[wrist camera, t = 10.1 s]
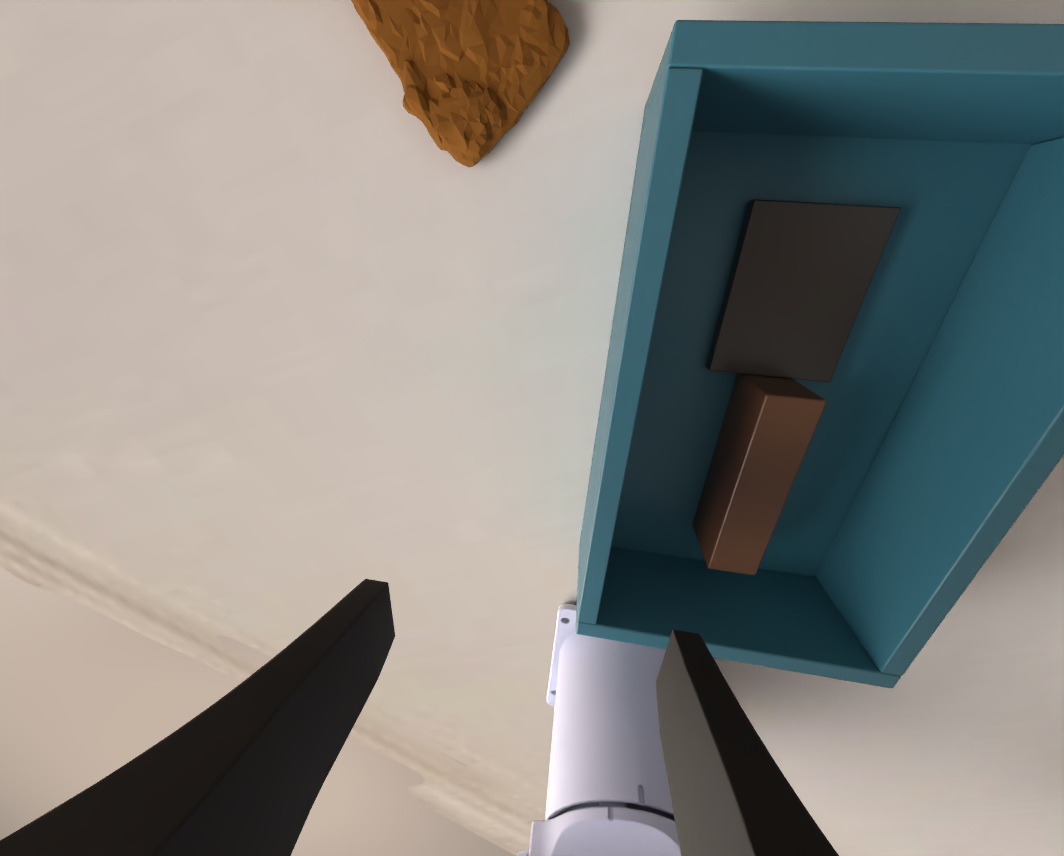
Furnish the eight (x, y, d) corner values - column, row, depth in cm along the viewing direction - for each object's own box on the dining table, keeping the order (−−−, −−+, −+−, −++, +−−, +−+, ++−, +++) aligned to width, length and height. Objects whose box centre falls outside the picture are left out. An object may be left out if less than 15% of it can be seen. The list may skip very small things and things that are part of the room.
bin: (820, 582, 20) (893, 689, 15) (579, 547, 22) (575, 634, 17) (1057, 118, 12) (1379, 25, 7) (645, 104, 13) (675, 18, 8)
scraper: (760, 534, 19) (788, 581, 16) (664, 521, 20) (676, 564, 17) (889, 209, 13) (965, 198, 10) (747, 200, 14) (785, 188, 11)
